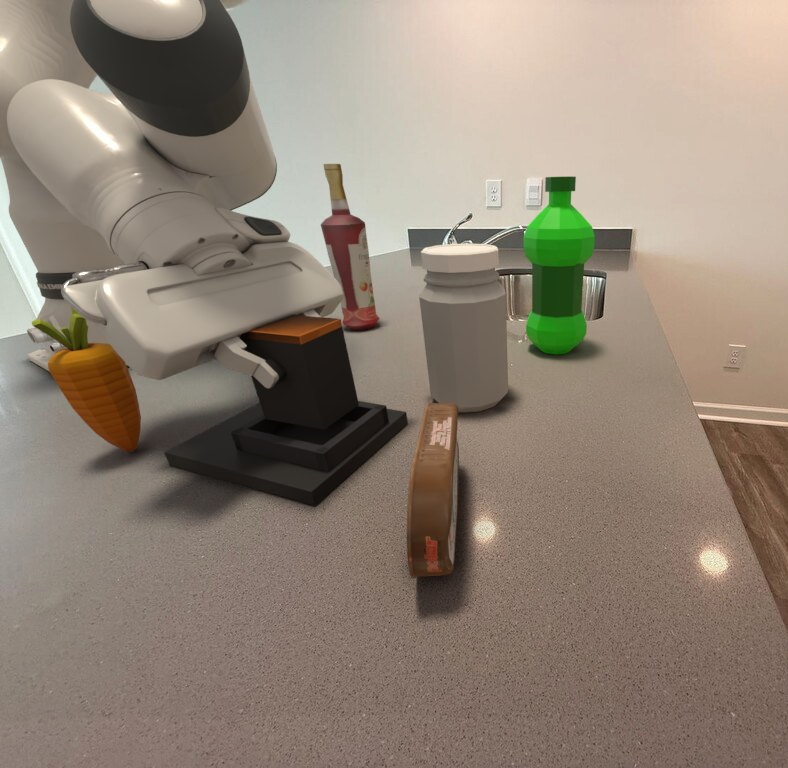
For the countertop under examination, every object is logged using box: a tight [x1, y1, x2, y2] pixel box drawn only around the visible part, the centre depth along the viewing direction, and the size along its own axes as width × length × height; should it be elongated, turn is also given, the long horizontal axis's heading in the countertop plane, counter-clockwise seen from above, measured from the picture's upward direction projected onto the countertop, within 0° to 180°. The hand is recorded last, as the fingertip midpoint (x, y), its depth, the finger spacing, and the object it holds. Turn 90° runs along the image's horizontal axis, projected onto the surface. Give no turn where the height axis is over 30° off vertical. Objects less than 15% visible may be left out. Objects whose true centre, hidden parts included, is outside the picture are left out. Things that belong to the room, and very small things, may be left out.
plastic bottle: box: [523, 176, 596, 355], centre depth 61 cm, size 10×10×25 cm
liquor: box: [320, 163, 380, 331], centre depth 73 cm, size 7×7×28 cm
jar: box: [418, 243, 509, 413], centre depth 47 cm, size 10×10×18 cm
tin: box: [406, 401, 460, 579], centre depth 30 cm, size 15×3×8 cm, turn 5°
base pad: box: [163, 400, 409, 506], centre depth 42 cm, size 18×14×4 cm
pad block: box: [240, 315, 359, 430], centre depth 38 cm, size 7×5×9 cm
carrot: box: [31, 307, 142, 453], centre depth 39 cm, size 5×5×15 cm
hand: (306, 367), depth 38 cm, fingers closed on pad block, 5 cm apart
